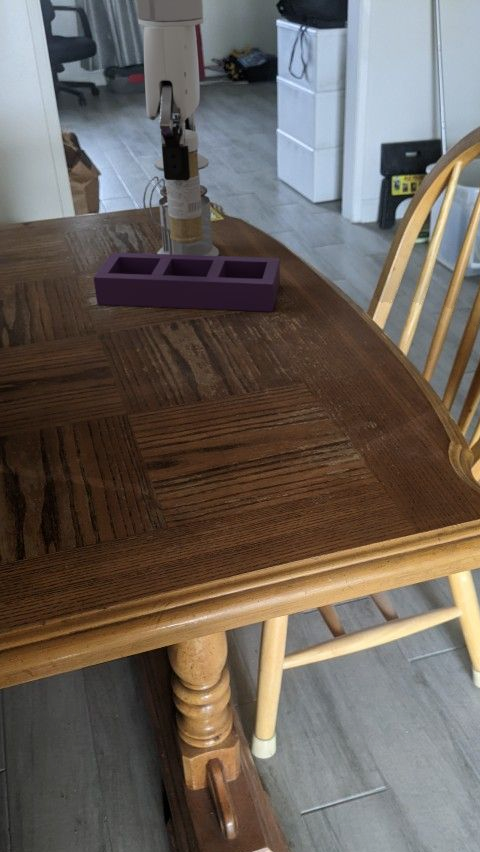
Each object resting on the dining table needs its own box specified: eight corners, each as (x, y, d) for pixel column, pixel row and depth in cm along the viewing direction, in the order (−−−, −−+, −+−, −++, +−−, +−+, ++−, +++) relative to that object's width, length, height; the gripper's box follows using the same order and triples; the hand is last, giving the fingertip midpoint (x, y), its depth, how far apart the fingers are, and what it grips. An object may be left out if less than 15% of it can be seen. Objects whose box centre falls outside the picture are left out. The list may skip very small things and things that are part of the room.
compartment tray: (273, 312, 105) (272, 283, 103) (97, 304, 108) (93, 277, 105) (279, 284, 113) (279, 258, 110) (115, 278, 115) (111, 252, 113)
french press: (231, 254, 122) (225, 77, 107) (170, 273, 116) (154, 89, 101) (195, 237, 128) (184, 68, 113) (135, 254, 122) (114, 78, 107)
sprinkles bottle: (193, 230, 108) (187, 126, 100) (209, 240, 105) (204, 133, 97) (163, 237, 106) (154, 131, 98) (179, 247, 103) (170, 138, 95)
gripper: (154, 0, 96) (167, 155, 107) (118, 17, 83) (137, 192, 94) (214, 0, 96) (220, 156, 107) (188, 18, 82) (198, 194, 93)
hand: (181, 171), depth 100 cm, fingers closed on sprinkles bottle, 4 cm apart
